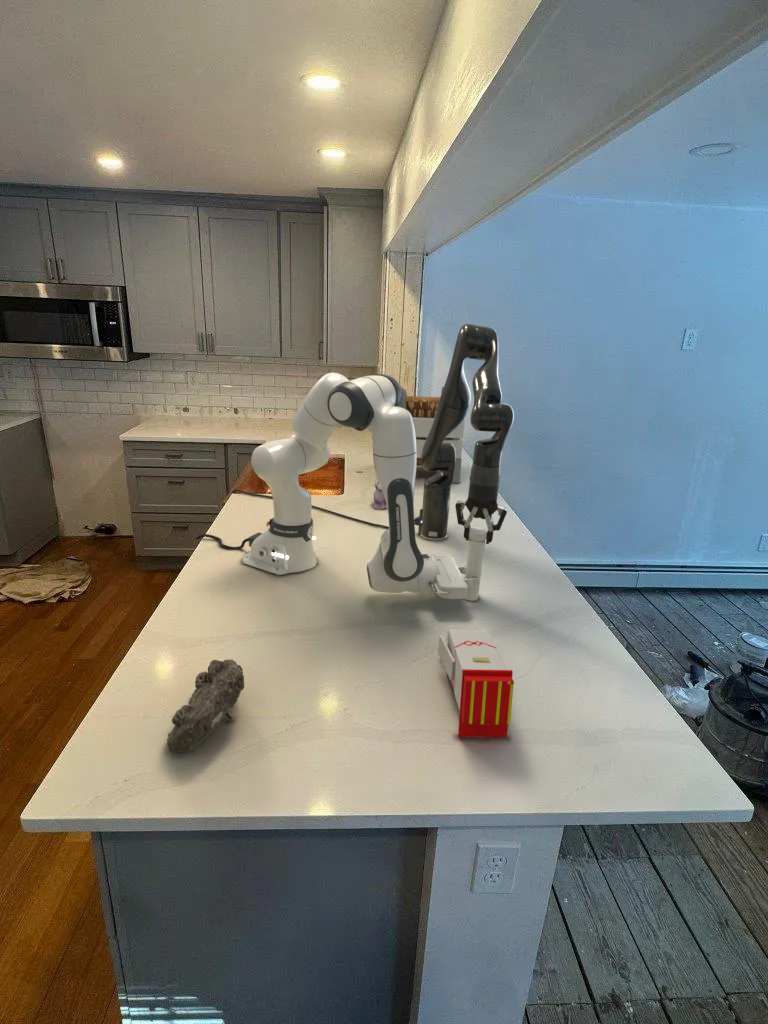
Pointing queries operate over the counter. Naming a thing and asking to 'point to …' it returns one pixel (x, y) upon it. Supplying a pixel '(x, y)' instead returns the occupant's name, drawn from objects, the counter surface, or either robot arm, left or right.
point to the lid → (478, 533)
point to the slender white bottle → (474, 566)
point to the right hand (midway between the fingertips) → (477, 541)
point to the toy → (478, 682)
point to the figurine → (379, 497)
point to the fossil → (206, 705)
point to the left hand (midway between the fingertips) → (475, 575)
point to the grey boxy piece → (423, 420)
